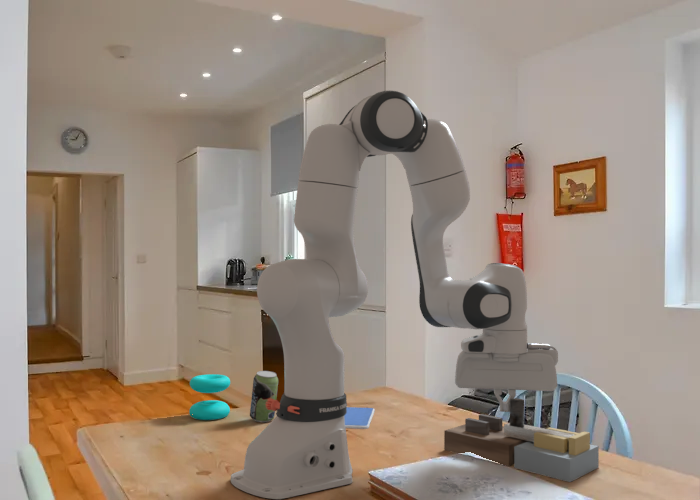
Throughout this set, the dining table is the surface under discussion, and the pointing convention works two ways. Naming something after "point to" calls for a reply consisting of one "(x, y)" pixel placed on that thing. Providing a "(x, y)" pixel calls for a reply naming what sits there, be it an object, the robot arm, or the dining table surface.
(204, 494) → the dining table surface
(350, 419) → the tablet computer
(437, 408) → the dining table surface
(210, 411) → the donuts
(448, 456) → the dining table surface
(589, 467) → the stacked blocks
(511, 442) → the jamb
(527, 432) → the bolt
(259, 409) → the beverage can
